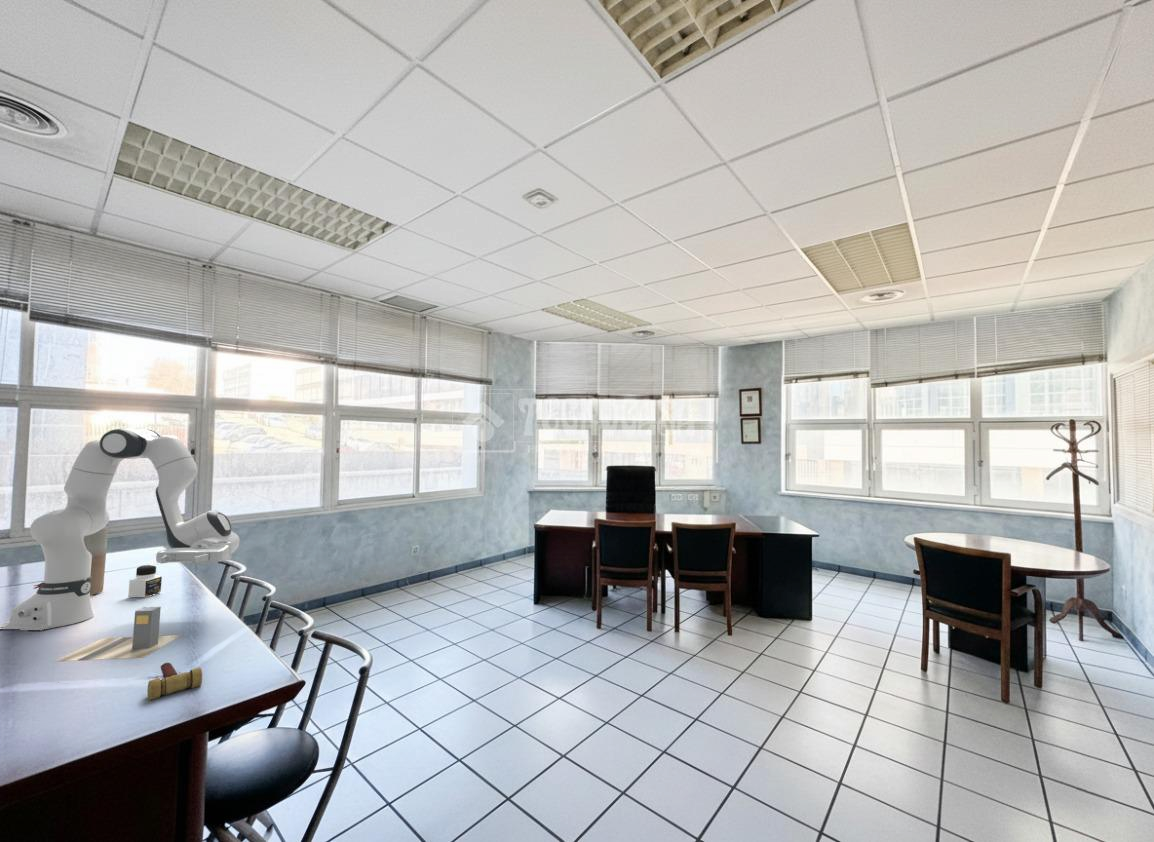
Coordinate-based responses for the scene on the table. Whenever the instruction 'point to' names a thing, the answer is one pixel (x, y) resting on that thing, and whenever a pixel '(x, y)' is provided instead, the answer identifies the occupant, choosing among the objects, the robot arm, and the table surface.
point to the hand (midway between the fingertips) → (178, 560)
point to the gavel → (173, 681)
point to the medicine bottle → (145, 582)
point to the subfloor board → (115, 649)
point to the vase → (97, 558)
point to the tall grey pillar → (146, 627)
